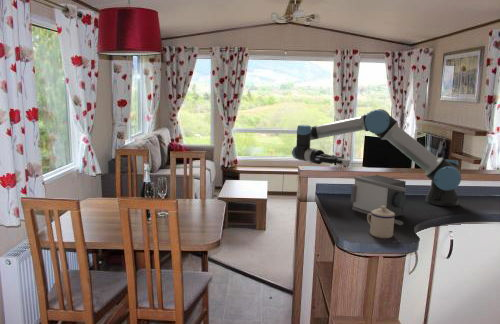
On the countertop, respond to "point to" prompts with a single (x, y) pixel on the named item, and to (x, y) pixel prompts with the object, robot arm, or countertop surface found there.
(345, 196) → the countertop surface
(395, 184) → the small gray cabinet
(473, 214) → the countertop surface
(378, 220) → the teacup with lid
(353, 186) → the side door
